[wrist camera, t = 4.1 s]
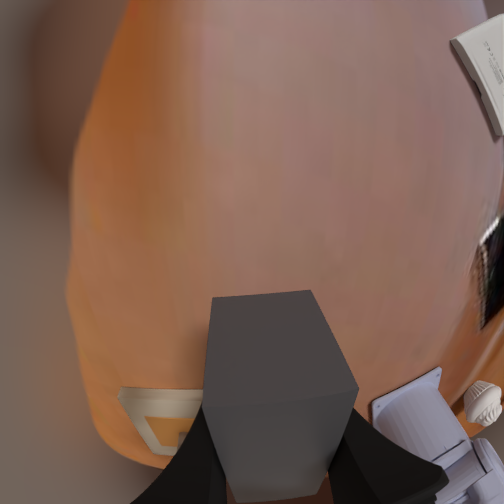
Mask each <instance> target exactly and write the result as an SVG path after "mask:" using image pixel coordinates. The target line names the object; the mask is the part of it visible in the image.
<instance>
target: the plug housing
mask: <svg viewBox="0 0 504 504" xmlns="http://www.w3.org/2000/svg"><path fill="white" fill-rule="evenodd" d="M358 391H359V387H358V385H357V383H356V381H355V379H354V376H353V374H352V372H351V370H350V368H349V366H348V364H347V362H346V360H345V358H344V356H343V353H342V351H341V349H340V347H339V345H338V343H337V341H336V339H335V337H334V335H333V333H332V331H331V329H330V327H329V325H328V323H327V321H326V319H325V317H324V315H323V313H322V311H321V309H320V307H319V305H318V303H317V301H316V299H315V297H314V295H313V294H312V292H311V290H303V291H293V292H282V293H270V294H258V295H245V296H231V297H215V298H212V306H211V315H210V324H209V333H208V343H207V353H206V364H205V375H204V386H203V398H202V409H203V413H204V416H205V419H206V422H207V425H208V428H209V431H210V434H211V437H212V440H213V443H214V446H215V449H216V451H217V454H218V457H219V460H220V462H221V465H222V468H223V470H224V473H225V476H226V478H227V481H228V483H229V486H230V488H231V490H232V493H233V495H234V498H235V500H236V503H247V502H262V501H273V500H282V499H289V498H296V497H302V496H308V495H313V494H316V493H317V491H318V490H319V488H320V486H321V484H322V482H323V480H324V477H325V475H326V473H327V471H328V469H329V467H330V464H331V462H332V460H333V458H334V455H335V453H336V451H337V448H338V446H339V443H340V441H341V438H342V436H343V433H344V431H345V428H346V425H347V423H348V420H349V417H350V414H351V412H352V409H353V406H354V403H355V400H356V397H357V394H358Z"/></svg>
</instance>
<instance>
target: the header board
mask: <svg viewBox="0 0 504 504" xmlns="http://www.w3.org/2000/svg"><path fill="white" fill-rule="evenodd" d="M202 398H203V389H197V390H177V389H146V388H131V387H121V388H120V391H119V394H118V399H119V401H120V403H121V404H122V406H123V408H124V409H125V411H126V413H127V414H128V416H129V418H130V419H131V421H132V423H133V424H134V426H135V427H136V429H137V430H138V432H139V433H140V435H141V436H142V438H143V439H144V441H145V442H146V444H147V445H148V447H149V448H150V449H151V451H152V452H153V454H158V455H170V456H174V455H175V454H176V452H177V451H178V449H179V448H180V446H181V444H182V443H183V441H184V439H185V437H186V435H187V434H188V432H189V430H190V428H191V426H192V424H193V422H194V420H195V417H196V415H197V413H198V410H199V408H200V405H201V403H202Z"/></svg>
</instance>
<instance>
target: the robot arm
mask: <svg viewBox="0 0 504 504" xmlns="http://www.w3.org/2000/svg"><path fill="white" fill-rule="evenodd" d="M441 371H442V369H441V368H440V367H437V368H435V369H434V370H432V371H430V372H429V373H427V374H425V375H423V376H421V377H420V378H418V379H416V380H414V381H412V382H410V383H409V384H407V385H405V386H403V387H401V388H399V389H397V390H395V391H393V392H391V393H388V394H386V395H384V396H382V397H380V398H378V399H376V400H374V401H373V402H372V421H373V426H372V425H371V424H369V423H368V422H367V421H366V420H365V419H364V418H363V417H362V416H361V415H360V414H359V413H358V412H357V411H356V410H355V409H354V408H353V409H352V412H351V414H350V417H349V420H348V423H347V425H346V428H345V431H344V433H343V436H342V438H341V441H340V443H339V446H338V448H337V451H336V453H335V455H334V458H333V460H332V462H331V464H330V467H329V469H328V475H329V479H330V484H331V490H332V495H333V501H334V504H504V465H503V464H502V462H501V460H500V458H499V456H498V455H497V453H496V452H495V450H494V449H493V447H492V446H491V444H490V443H489V442H488V441H487V440H486V439H485V438H482V439H480V438H477V439H476V440H475V441H472V440H470V439H469V437H468V436H467V434H466V432H465V431H464V429H463V428H462V426H461V424H460V423H459V421H458V420H457V418H456V417H455V415H454V414H453V412H452V411H451V409H450V407H449V406H448V404H447V403H446V401H445V400H444V398H443V397H442V396H441V394H440V393H439V391H438V390H437V389H438V385H439V381H440V376H441ZM130 504H227V495H226V476H225V473H224V470H223V468H222V465H221V462H220V460H219V457H218V454H217V451H216V449H215V446H214V443H213V440H212V437H211V434H210V431H209V428H208V425H207V422H206V419H205V416H204V413H203V409H202V403H201V405H200V408H199V410H198V413H197V415H196V417H195V420H194V422H193V424H192V426H191V428H190V430H189V432H188V434H187V435H186V437H185V439H184V441H183V443H182V444H181V446H180V448H179V449H178V451H177V452H176V454H175V455H174V457H173V458H172V460H171V461H170V463H169V464H168V465H167V466H166V468H165V469H164V470H163V472H162V473H161V474H160V475H159V476H158V478H157V479H156V480H155V481H154V482H153V483H152V484H151V485H150V486H149V487H148V488H147V489H146V490H145V491H144V492H143V493H142V494H141V495H140V496H139V497H137V498H136V499H135V500H134V501H133V502H131V503H130Z"/></svg>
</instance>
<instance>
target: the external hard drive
mask: <svg viewBox="0 0 504 504" xmlns="http://www.w3.org/2000/svg"><path fill="white" fill-rule="evenodd" d="M450 42H451V43H452V45H453V47H454V48H455V50H456V52H457V53H458V55H459V57H460V58H461V60H462V62H463V64H464V65H465V67H466V69H467V71H468V73H469V75H470V76H471V78H472V80H474V81H475V84H476V85H477V88H478V89H479V91H480V94H481V99H482V101H483V104H484V106H485V108H486V111H487V113H488V116H489V118H490V121H491V123H492V126H493V129H494V131H495V134H496V135H498V136H503V135H504V14H500V15H497V16H495V17H493V18H491V19H489V20H487V21H485V22H483V23H481V24H479V25H477V26H475V27H473V28H471V29H469V30H467V31H465V32H464V33H462V34H460V35H458V36H456V37H454V38H452V39H451V40H450Z"/></svg>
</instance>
